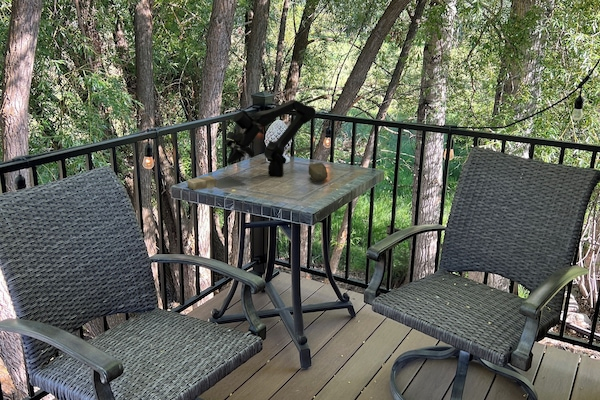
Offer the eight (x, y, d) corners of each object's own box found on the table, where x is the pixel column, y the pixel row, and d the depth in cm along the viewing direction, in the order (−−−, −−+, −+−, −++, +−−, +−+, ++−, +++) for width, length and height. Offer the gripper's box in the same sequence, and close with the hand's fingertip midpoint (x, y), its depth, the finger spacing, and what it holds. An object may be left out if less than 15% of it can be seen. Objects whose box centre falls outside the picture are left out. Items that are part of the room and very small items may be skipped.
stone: (306, 175, 275) (306, 159, 272) (324, 175, 275) (325, 158, 273) (310, 185, 259) (310, 168, 256) (330, 185, 259) (330, 167, 257)
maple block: (210, 175, 258) (187, 180, 252) (216, 178, 253) (193, 183, 247) (210, 183, 259) (187, 187, 253) (216, 186, 254) (193, 191, 248)
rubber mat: (231, 178, 269) (230, 177, 269) (245, 185, 258) (245, 184, 258) (205, 182, 262) (205, 181, 262) (219, 189, 251) (219, 188, 251)
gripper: (227, 121, 263) (206, 148, 260) (247, 127, 248) (225, 156, 246) (242, 136, 269) (222, 162, 267) (263, 143, 255) (242, 171, 252)
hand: (227, 163), depth 258 cm, fingers closed
